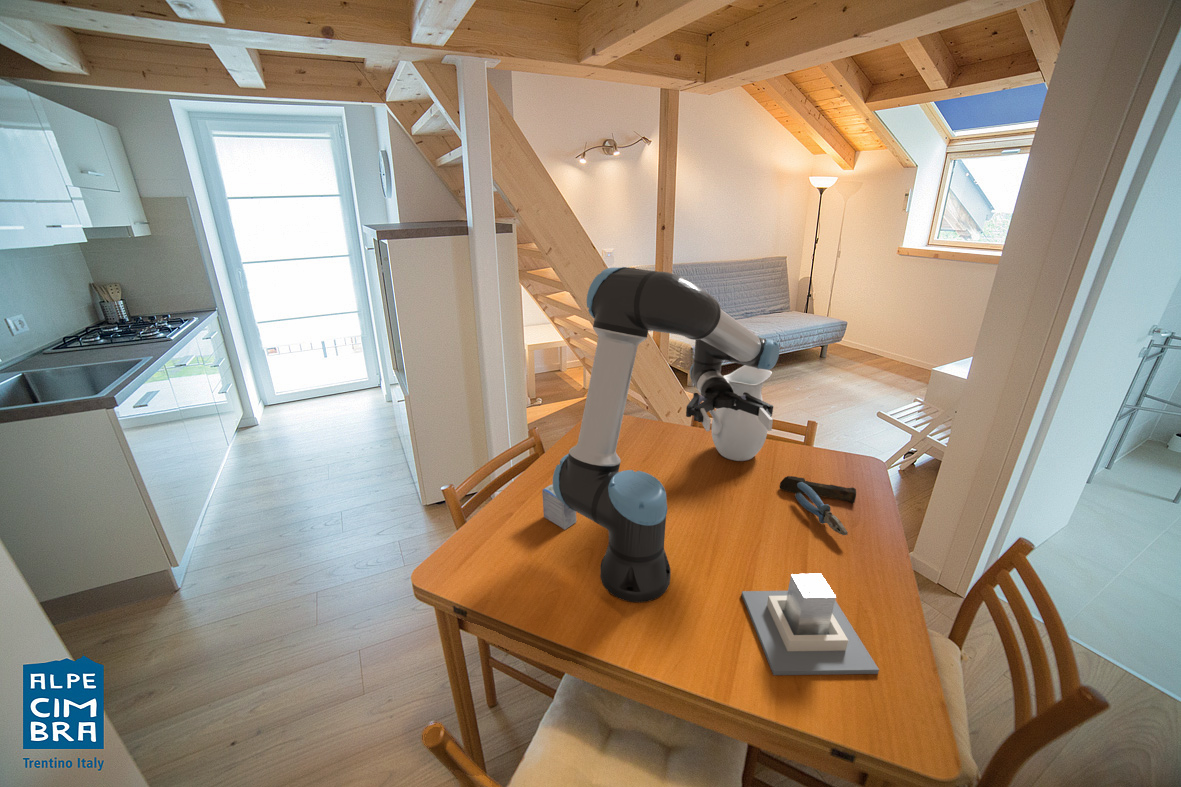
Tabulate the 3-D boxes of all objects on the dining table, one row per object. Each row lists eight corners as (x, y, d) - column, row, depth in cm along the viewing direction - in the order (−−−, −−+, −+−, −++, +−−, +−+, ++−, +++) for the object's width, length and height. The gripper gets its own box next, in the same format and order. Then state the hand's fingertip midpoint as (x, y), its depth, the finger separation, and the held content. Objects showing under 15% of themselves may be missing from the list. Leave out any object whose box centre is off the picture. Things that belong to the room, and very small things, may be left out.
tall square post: (795, 639, 87) (804, 596, 83) (783, 615, 92) (791, 573, 88) (825, 639, 87) (836, 596, 83) (812, 614, 92) (821, 573, 88)
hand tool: (853, 498, 130) (856, 483, 129) (854, 506, 127) (858, 491, 125) (779, 484, 137) (781, 470, 135) (779, 492, 134) (781, 477, 132)
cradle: (773, 675, 81) (776, 660, 80) (741, 594, 98) (743, 581, 97) (877, 673, 82) (882, 659, 80) (828, 593, 98) (831, 580, 97)
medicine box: (577, 522, 121) (576, 493, 118) (564, 530, 118) (563, 501, 115) (555, 510, 126) (554, 481, 123) (543, 517, 123) (541, 489, 120)
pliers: (846, 544, 112) (851, 524, 110) (838, 545, 112) (843, 525, 110) (800, 497, 131) (803, 478, 129) (792, 497, 130) (796, 479, 128)
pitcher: (739, 436, 164) (748, 360, 154) (775, 459, 150) (788, 375, 140) (681, 451, 155) (687, 370, 145) (714, 476, 141) (723, 388, 131)
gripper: (760, 402, 125) (793, 440, 105) (666, 403, 125) (681, 441, 105) (764, 376, 122) (799, 409, 103) (667, 376, 122) (683, 410, 102)
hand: (739, 425), depth 104 cm, fingers open, 13 cm apart
